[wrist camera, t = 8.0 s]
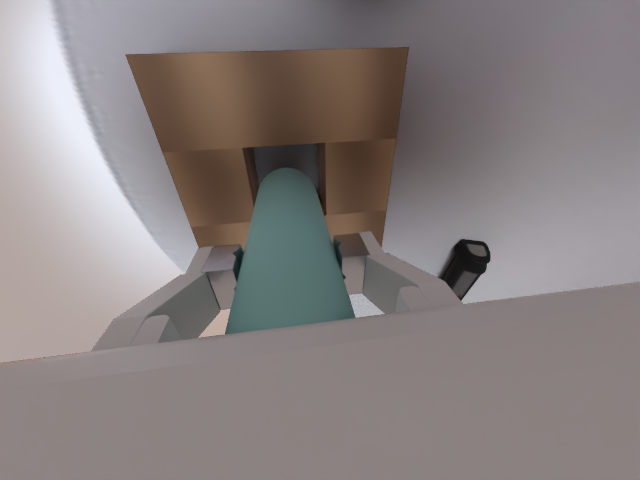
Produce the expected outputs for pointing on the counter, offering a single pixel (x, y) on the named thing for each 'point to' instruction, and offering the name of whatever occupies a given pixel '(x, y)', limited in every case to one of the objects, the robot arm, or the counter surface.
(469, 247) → the electric trimmer
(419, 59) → the counter surface
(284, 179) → the peg
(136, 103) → the counter surface
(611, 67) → the counter surface
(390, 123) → the socket block
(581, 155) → the counter surface
